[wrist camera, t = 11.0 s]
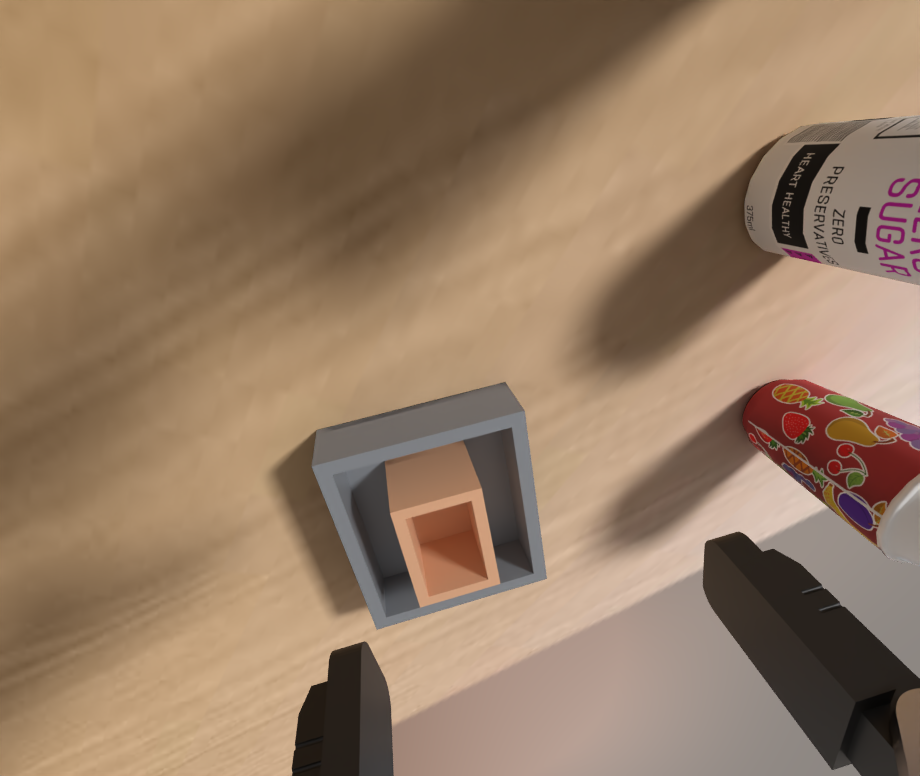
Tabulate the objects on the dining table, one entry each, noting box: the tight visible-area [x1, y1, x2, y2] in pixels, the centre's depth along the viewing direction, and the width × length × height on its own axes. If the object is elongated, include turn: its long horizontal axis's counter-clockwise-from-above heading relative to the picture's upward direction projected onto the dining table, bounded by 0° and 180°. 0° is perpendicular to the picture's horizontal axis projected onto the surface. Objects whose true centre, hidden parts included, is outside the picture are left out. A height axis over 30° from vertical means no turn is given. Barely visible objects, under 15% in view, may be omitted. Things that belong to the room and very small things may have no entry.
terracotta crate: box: [385, 440, 500, 608], centre depth 35 cm, size 6×9×6 cm, turn 10°
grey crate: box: [312, 382, 547, 629], centre depth 36 cm, size 14×16×4 cm
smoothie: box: [742, 380, 920, 566], centre depth 32 cm, size 8×8×20 cm
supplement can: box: [744, 115, 920, 285], centre depth 26 cm, size 8×8×15 cm
